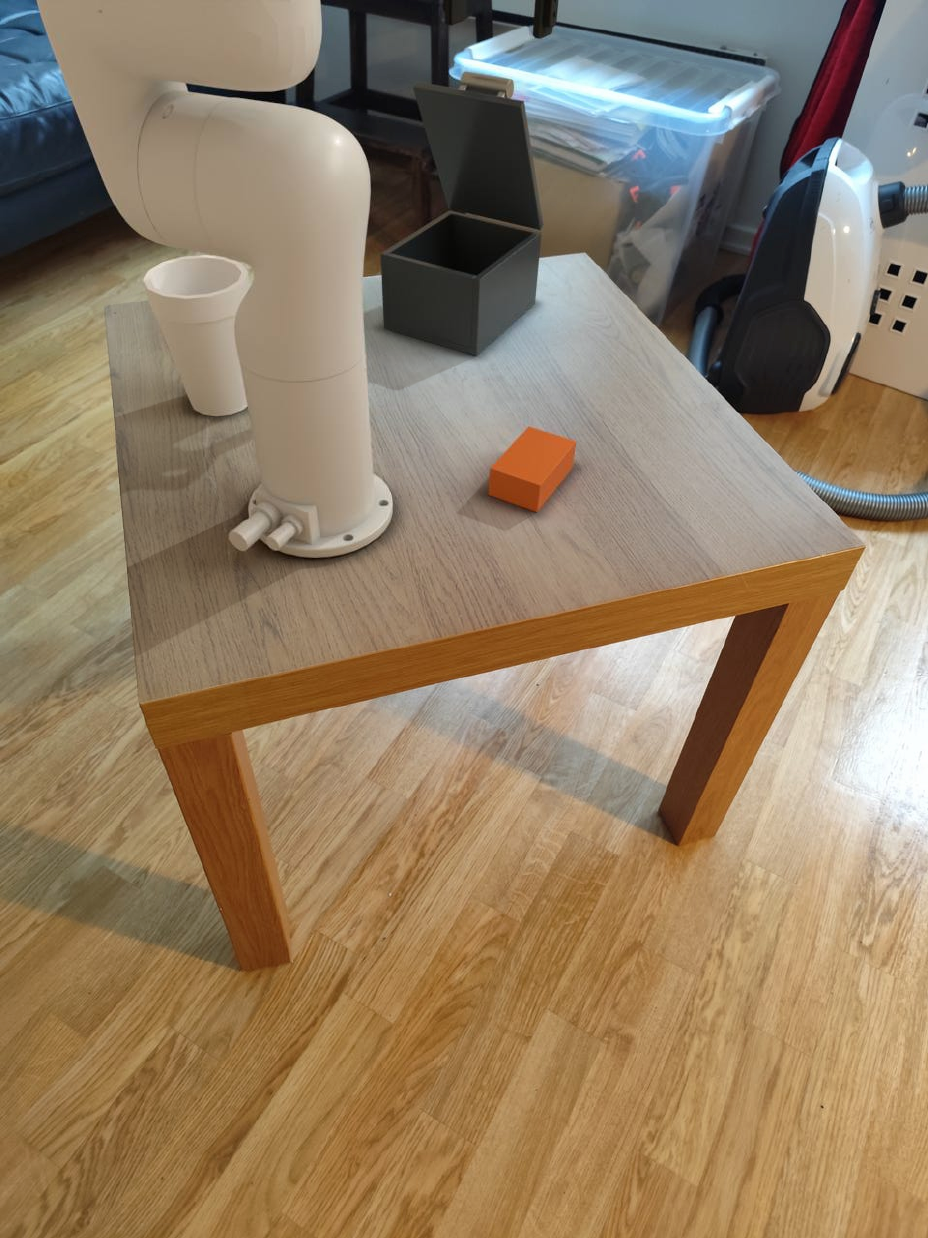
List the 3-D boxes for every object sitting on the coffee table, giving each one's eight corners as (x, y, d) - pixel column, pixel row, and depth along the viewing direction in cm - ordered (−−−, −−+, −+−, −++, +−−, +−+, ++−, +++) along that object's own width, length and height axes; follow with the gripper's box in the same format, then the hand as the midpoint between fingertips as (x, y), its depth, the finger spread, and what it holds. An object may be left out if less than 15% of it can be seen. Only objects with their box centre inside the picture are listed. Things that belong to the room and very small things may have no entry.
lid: (520, 106, 81) (542, 68, 82) (412, 86, 85) (434, 50, 86) (540, 230, 96) (558, 196, 97) (448, 208, 100) (466, 176, 101)
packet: (537, 512, 74) (540, 485, 72) (488, 495, 76) (489, 468, 73) (572, 467, 79) (576, 441, 77) (526, 452, 81) (528, 425, 78)
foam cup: (166, 387, 87) (134, 264, 78) (251, 369, 90) (230, 248, 81) (189, 433, 81) (157, 305, 72) (279, 411, 84) (259, 287, 75)
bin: (476, 356, 94) (479, 279, 87) (383, 328, 98) (380, 253, 91) (535, 304, 103) (541, 231, 97) (448, 280, 107) (449, 210, 101)
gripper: (398, -223, 69) (403, 24, 81) (588, -215, 64) (562, 48, 76) (442, -221, 74) (440, 12, 86) (622, -214, 68) (593, 34, 81)
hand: (498, 29), depth 81 cm, fingers open, 9 cm apart
